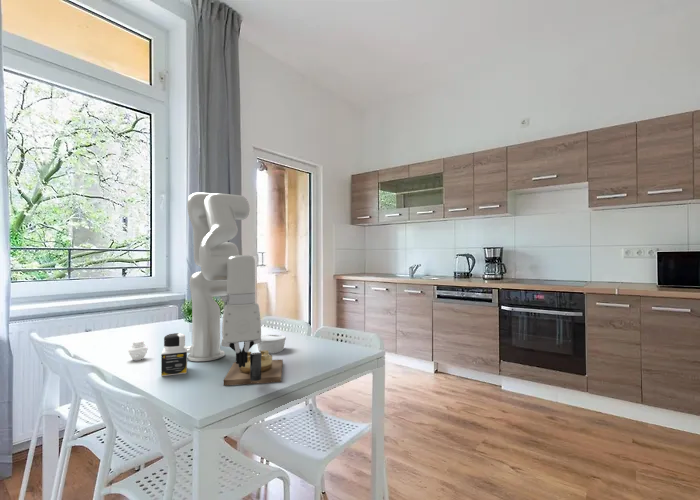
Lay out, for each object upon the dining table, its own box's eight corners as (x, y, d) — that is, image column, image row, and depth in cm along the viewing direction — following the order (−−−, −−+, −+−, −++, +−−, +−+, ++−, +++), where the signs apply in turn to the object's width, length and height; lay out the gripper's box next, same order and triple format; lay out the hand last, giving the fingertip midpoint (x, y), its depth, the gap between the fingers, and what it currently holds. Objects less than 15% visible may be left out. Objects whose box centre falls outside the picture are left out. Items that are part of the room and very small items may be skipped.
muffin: (126, 359, 129) (126, 340, 129) (145, 356, 133) (145, 337, 133) (131, 362, 125) (131, 342, 125) (150, 359, 129) (150, 339, 129)
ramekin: (288, 347, 145) (288, 334, 145) (282, 354, 134) (282, 340, 134) (261, 347, 145) (261, 334, 145) (252, 354, 134) (252, 340, 134)
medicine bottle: (161, 376, 109) (161, 337, 110) (163, 370, 116) (163, 333, 116) (186, 373, 112) (186, 335, 112) (187, 367, 119) (187, 331, 119)
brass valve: (239, 364, 115) (239, 341, 115) (271, 362, 117) (271, 339, 117) (236, 384, 97) (236, 356, 97) (274, 380, 99) (274, 353, 100)
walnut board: (223, 385, 101) (223, 380, 101) (234, 366, 119) (234, 362, 119) (280, 381, 103) (280, 376, 104) (282, 363, 121) (282, 359, 121)
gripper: (213, 302, 93) (213, 373, 92) (270, 299, 99) (271, 366, 98) (212, 299, 100) (212, 365, 99) (266, 297, 106) (266, 359, 105)
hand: (241, 365), depth 99 cm, fingers closed
